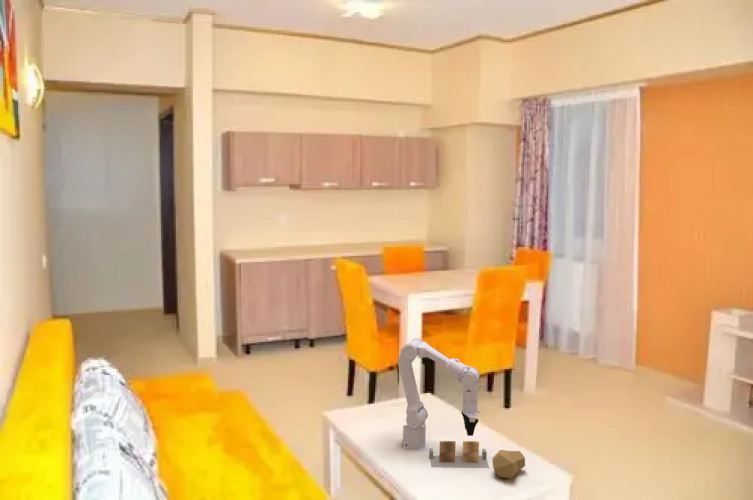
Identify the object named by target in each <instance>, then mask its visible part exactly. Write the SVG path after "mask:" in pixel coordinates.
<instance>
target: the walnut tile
mask: <svg viewBox="0 0 753 500" xmlns="http://www.w3.org/2000/svg"><path fill="white" fill-rule="evenodd" d="M456 444H457V443H456V440H455V441H454V440H440V441H439V450H438V452H439V454H438V456H439V462H455V456H456V447H457V446H456Z"/></svg>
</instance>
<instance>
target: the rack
mask: <svg viewBox="0 0 753 500" xmlns="http://www.w3.org/2000/svg"><path fill="white" fill-rule="evenodd" d="M481 450H482V452H481V455H479V459H478V462H463V461H462V459H463V455H455V462H439V455H434V448H433V447H432V448H429V449H428V451H429V455H428V456H429V462H430V467H431V468H452V469H453V468H460V469H461V468H464V469H471V468H472V469H490V465H489V463H488V460H487V449H486V448H482V449H481Z"/></svg>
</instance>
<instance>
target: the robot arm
mask: <svg viewBox="0 0 753 500" xmlns="http://www.w3.org/2000/svg"><path fill="white" fill-rule="evenodd" d="M416 358H418V359H421V358H428V359H430V360H432V361H434V362H436V363H437V364H440V365H441V366H443V367H444V368H445V370H446V372H448V373H449V374H452V375H453V376H454V377H455V378H458V379H459V380H461V383H462V384H463V387H462V409H461V411H460V413H461V416H462V419H463V423H464V429H465V430H466V435H467V437H471V436H472V437H473V436H474V433H475V430H476V426H477V425H478V423H479V419H478V418H476V417H477V415H478V414H479V413H481V410H480V409H478V397H479V393H478V392H479V388H478V387H479V380H480V377H481V376H480V374H481V373H480V372H479V370H478V369H477V368H476V367H475V366H472V367H471V366H470V365H466V364H464V363H462V362H461V361H460V359H459V358H454V357H453V358H448V357H447V356H445V355H444V354H443V353H441V352H440V351H438V350H437V349H435V348H433V347H432V346H430V345H429V344H428V343H427V342H426V341H423V340H422V339H420V338H413V339H412V340H411V341H410V342H408V343H406V344H404V345H403V347H402V348H401V349H400V354H399V357H398V361H397V365H398V369H399V374H400V377H401V382H402V386H403V390H404V393H405V394H404V395H405V399H406V403H407V406H406V411H405V412H406V418H405V419H406V420H405V421H406V424H405V425H403V426H402V439H401V440H402V441H401V443H402V448H403V450H405V451H427V450H428V447H427V442H426V437H427V436H426V433H427V432H426V430H427V427H426V426H427V423H426V420H427V419H428V417H429V415H428V410H427V409H426V407H425V405H424V403H423V402H422V401H421V398H420V395H419V394H420V393H419V391H418V390H419V389H418V386H417V382H416V377H415V372H414V369H413V362H414V360H416Z"/></svg>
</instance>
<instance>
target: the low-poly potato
mask: <svg viewBox="0 0 753 500" xmlns="http://www.w3.org/2000/svg"><path fill="white" fill-rule="evenodd" d="M525 466H526V458H525V456H524V454H523V453H522V452H521V451H520V450H506V449H505V450H504V449H500V450H499V451H498V452H497V453H496V454H495V455H494V456H493V457H492V468H493V470H494V472H495V473H496V475H497V476H498V478H502V479H503V478H504V479H508V480H509V479H510V480H512V479H513V478H514V477H515V476H516V474H517V473H518V472H520V471H521V470H522V469H523V468H525Z"/></svg>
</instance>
